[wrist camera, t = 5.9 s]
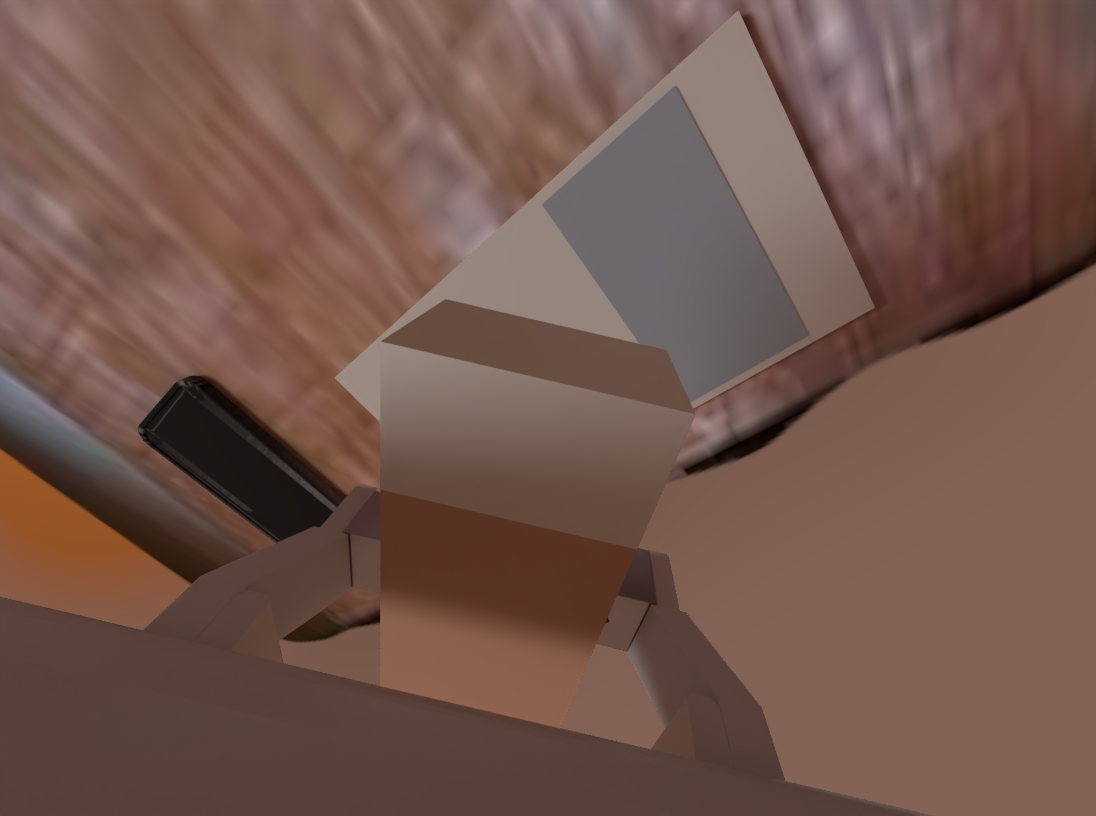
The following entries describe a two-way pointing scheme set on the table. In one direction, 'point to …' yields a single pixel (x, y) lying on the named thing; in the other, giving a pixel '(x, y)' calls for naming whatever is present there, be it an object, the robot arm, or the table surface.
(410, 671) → the two-tone tall block
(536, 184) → the table surface
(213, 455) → the phone
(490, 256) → the mat
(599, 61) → the table surface
